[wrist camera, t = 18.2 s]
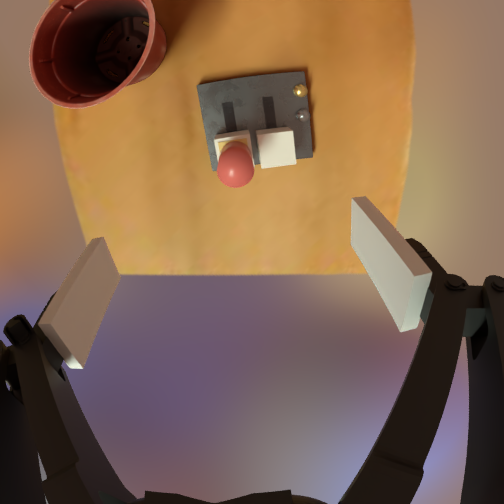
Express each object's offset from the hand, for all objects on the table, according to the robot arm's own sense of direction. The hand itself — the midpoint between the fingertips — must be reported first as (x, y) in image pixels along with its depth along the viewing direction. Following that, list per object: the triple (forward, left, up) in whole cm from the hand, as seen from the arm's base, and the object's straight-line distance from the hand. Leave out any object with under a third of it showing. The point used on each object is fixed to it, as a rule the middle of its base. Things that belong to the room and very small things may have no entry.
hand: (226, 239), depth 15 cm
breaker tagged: (+3, 0, -33) cm, 33 cm away
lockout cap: (+3, 0, -29) cm, 29 cm away
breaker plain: (+3, +6, -33) cm, 34 cm away
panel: (-1, +4, -35) cm, 35 cm away
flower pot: (-17, -14, -35) cm, 41 cm away
